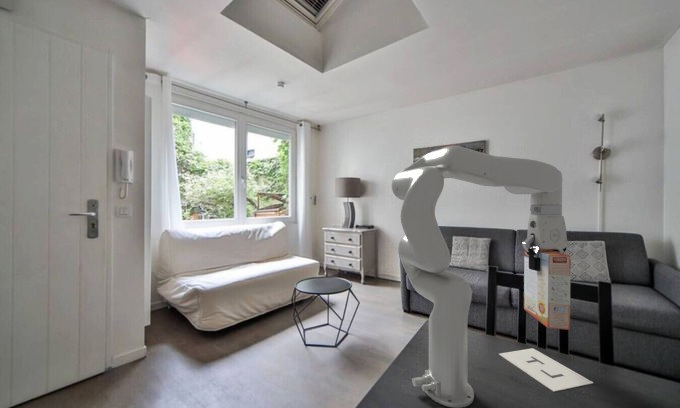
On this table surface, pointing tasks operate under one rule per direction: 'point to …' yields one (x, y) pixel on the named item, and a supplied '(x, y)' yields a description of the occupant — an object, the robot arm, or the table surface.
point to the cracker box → (548, 289)
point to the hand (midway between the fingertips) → (545, 268)
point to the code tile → (545, 369)
